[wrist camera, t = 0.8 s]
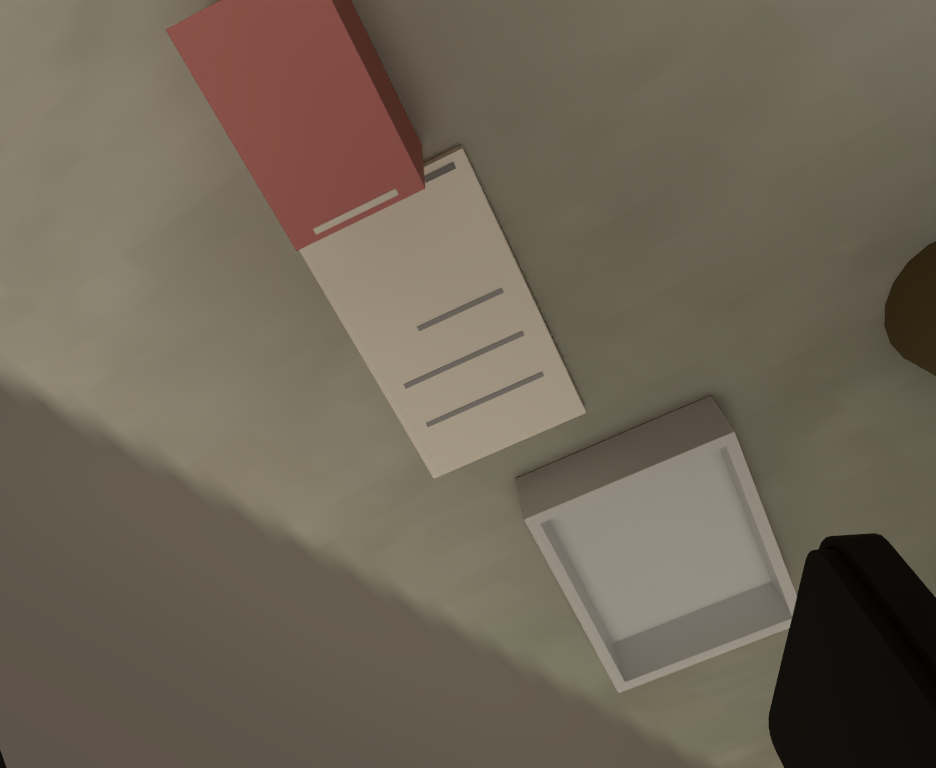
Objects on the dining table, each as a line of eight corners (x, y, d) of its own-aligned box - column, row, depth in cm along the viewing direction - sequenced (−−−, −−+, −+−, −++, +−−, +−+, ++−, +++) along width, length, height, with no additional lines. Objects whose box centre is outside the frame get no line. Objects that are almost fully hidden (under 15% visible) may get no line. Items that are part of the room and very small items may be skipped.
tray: (710, 395, 37) (734, 431, 35) (780, 577, 42) (806, 621, 39) (515, 478, 39) (524, 519, 36) (605, 645, 43) (618, 693, 41)
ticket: (461, 144, 32) (462, 148, 31) (583, 405, 37) (586, 413, 36) (290, 228, 33) (288, 233, 32) (433, 471, 38) (433, 479, 38)
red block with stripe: (325, -52, 29) (308, -47, 23) (421, 144, 32) (425, 189, 26) (208, 10, 29) (164, 29, 24) (313, 197, 32) (296, 251, 27)
